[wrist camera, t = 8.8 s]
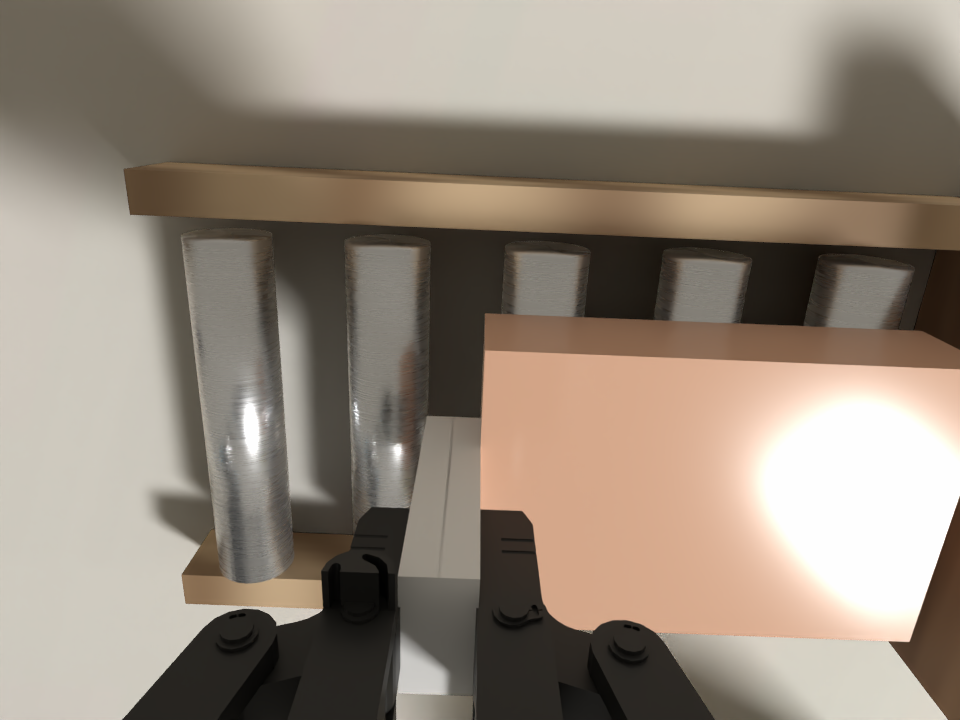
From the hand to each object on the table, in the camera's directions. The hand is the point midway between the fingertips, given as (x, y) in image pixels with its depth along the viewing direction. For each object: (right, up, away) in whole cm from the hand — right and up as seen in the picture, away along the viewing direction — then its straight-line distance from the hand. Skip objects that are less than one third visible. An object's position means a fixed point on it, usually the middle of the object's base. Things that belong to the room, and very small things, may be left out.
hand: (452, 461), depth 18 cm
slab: (+7, 0, +1) cm, 7 cm away
